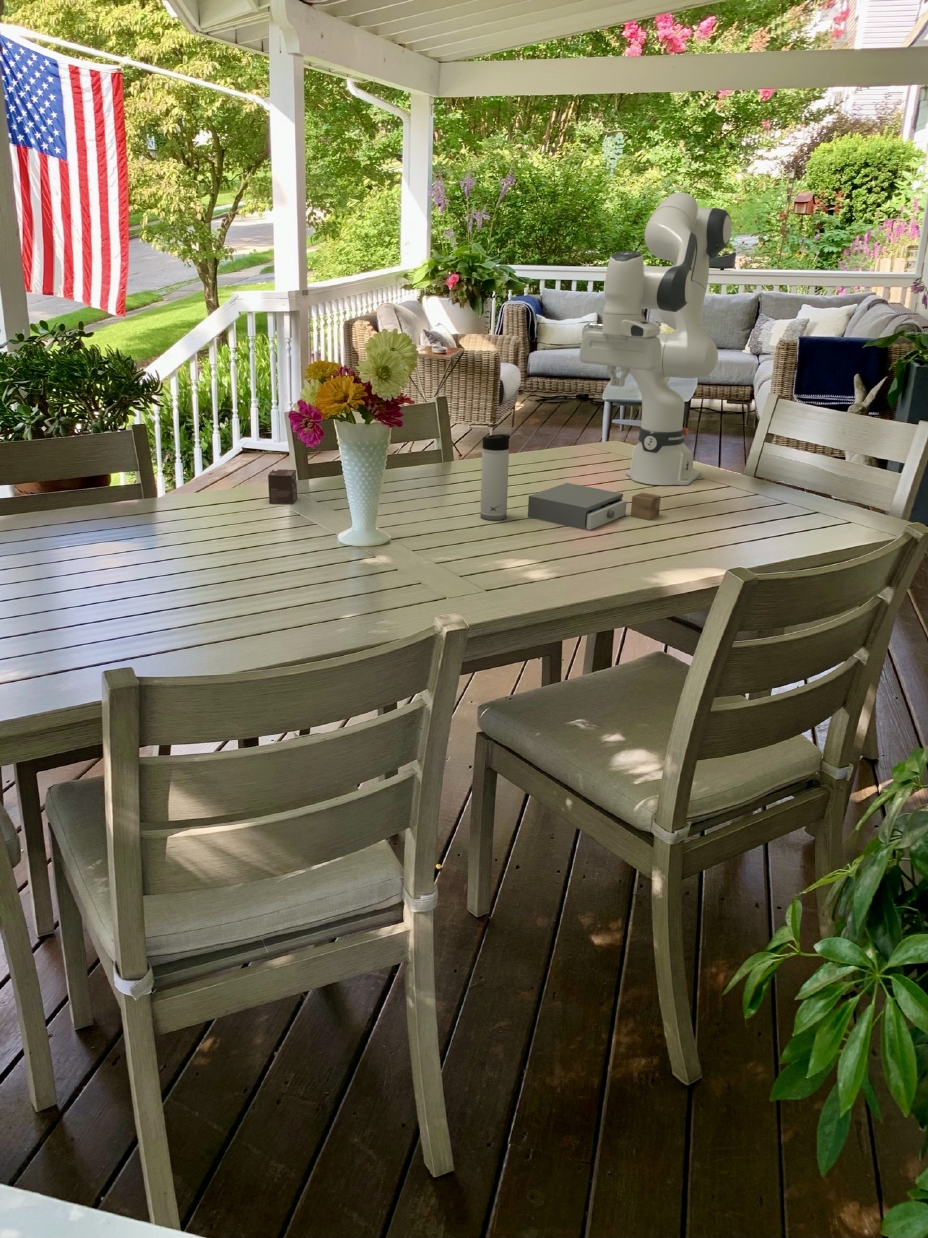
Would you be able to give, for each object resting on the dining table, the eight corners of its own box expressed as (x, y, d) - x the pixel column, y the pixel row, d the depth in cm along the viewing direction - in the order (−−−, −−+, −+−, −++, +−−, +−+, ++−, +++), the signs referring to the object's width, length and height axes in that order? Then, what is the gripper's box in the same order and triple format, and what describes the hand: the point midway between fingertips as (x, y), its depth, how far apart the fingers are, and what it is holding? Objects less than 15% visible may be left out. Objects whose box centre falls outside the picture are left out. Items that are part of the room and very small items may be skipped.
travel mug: (497, 522, 239) (500, 437, 231) (475, 517, 242) (477, 433, 235) (512, 516, 243) (516, 433, 236) (490, 511, 247) (493, 429, 239)
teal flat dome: (581, 505, 247) (582, 499, 246) (605, 510, 244) (605, 503, 243) (568, 511, 242) (568, 504, 241) (592, 515, 239) (592, 509, 238)
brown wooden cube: (640, 512, 249) (642, 492, 248) (658, 515, 247) (660, 495, 245) (630, 516, 246) (632, 496, 244) (649, 520, 243) (651, 500, 241)
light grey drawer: (570, 503, 255) (571, 489, 254) (629, 515, 246) (630, 501, 244) (533, 517, 243) (534, 502, 241) (593, 530, 233) (594, 515, 232)
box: (293, 504, 250) (292, 475, 247) (268, 504, 250) (267, 474, 247) (297, 498, 255) (296, 469, 253) (273, 497, 255) (272, 468, 253)
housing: (565, 502, 256) (566, 482, 254) (621, 514, 247) (623, 493, 245) (527, 516, 243) (528, 495, 242) (585, 529, 235) (586, 507, 233)
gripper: (576, 323, 240) (572, 382, 245) (654, 330, 228) (648, 392, 234) (589, 321, 244) (586, 379, 250) (666, 328, 233) (661, 389, 238)
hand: (617, 385), depth 242 cm, fingers closed
